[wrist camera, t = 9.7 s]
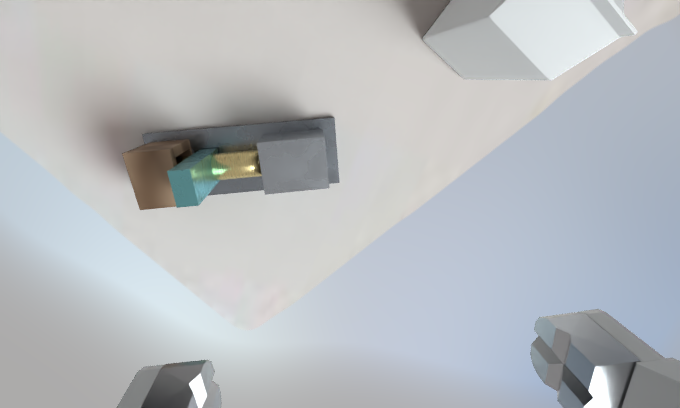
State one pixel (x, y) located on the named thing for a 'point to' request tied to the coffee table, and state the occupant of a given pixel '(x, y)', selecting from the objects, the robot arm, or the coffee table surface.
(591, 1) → the milk carton
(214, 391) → the robot arm
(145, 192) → the socket
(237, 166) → the rod
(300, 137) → the grey base plate
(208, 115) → the coffee table surface
